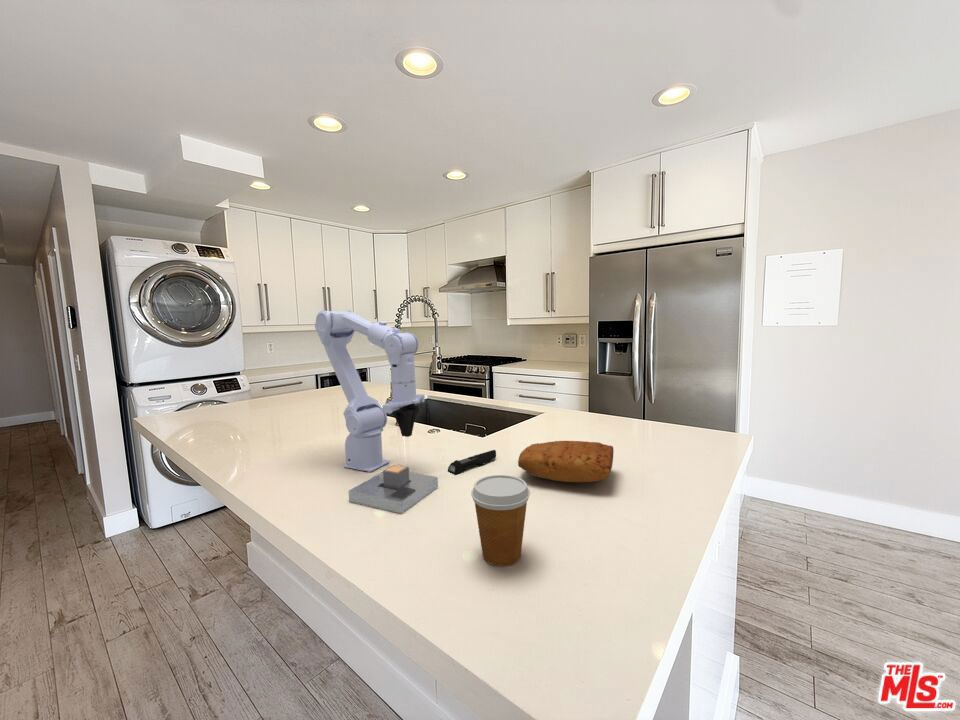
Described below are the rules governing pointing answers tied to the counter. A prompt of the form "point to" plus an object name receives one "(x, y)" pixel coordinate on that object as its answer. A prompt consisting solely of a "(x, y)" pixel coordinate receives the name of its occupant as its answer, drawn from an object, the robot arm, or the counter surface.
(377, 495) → the socket plate
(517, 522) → the disposable coffee cup
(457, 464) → the electric trimmer
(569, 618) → the counter surface
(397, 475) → the plug
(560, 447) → the baked loaf
